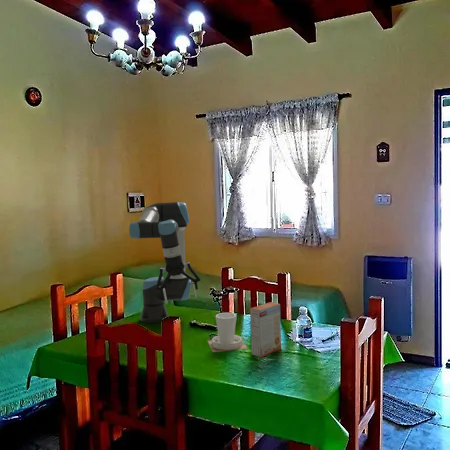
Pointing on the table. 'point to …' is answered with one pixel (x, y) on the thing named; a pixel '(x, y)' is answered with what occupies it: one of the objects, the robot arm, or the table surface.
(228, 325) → the foam cup
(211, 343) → the cork mat
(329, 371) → the table surface
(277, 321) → the cracker box
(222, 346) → the bowl
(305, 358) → the table surface
